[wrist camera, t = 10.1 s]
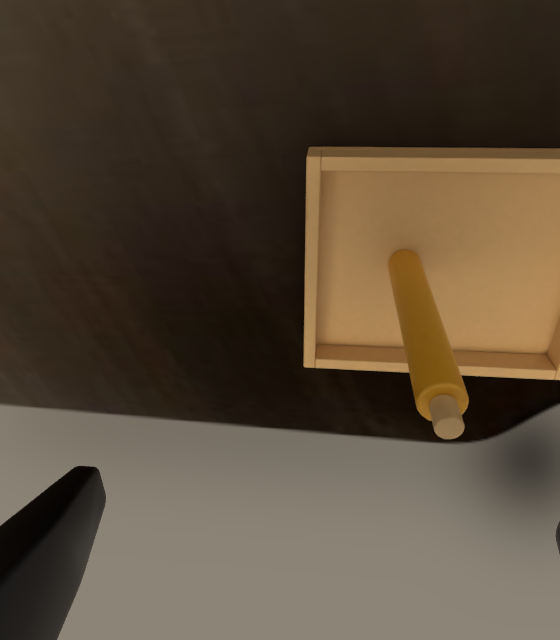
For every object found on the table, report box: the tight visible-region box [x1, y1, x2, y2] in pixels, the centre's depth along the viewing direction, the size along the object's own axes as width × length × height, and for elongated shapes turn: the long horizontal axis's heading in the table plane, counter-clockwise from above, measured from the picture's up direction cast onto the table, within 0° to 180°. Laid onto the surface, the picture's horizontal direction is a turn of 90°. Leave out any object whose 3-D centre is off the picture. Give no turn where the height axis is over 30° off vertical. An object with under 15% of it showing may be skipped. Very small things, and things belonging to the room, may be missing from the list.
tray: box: [304, 147, 560, 380], centre depth 19 cm, size 11×9×2 cm
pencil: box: [388, 250, 469, 439], centre depth 16 cm, size 1×1×10 cm
